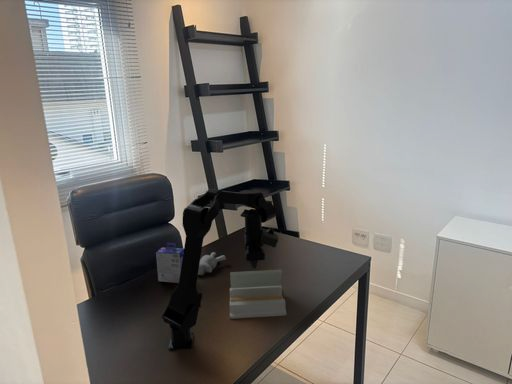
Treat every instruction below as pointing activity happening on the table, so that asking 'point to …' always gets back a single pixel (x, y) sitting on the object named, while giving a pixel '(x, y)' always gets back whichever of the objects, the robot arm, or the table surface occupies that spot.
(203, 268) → the bunny figurine
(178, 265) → the ink cartridge box
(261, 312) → the base
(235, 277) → the duct cover
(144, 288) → the table surface
